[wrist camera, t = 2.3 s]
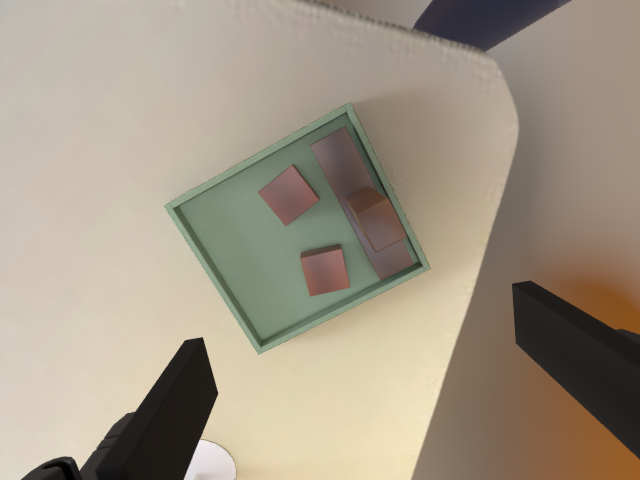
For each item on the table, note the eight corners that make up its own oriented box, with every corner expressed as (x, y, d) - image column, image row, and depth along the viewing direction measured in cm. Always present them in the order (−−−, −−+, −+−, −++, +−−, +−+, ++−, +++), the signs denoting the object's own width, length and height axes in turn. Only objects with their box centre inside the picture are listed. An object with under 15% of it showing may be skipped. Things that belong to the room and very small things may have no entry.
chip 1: (293, 163, 35) (292, 164, 33) (319, 197, 35) (320, 199, 33) (260, 190, 35) (257, 192, 33) (287, 222, 36) (285, 226, 34)
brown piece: (343, 127, 34) (357, 114, 23) (407, 256, 37) (448, 301, 26) (309, 146, 34) (308, 142, 23) (376, 272, 37) (403, 323, 26)
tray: (348, 104, 34) (350, 101, 32) (425, 262, 38) (431, 268, 36) (171, 203, 36) (163, 206, 34) (261, 345, 39) (258, 355, 37)
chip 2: (340, 243, 36) (341, 248, 35) (348, 280, 37) (350, 287, 35) (300, 252, 37) (300, 258, 35) (310, 289, 38) (309, 297, 36)
